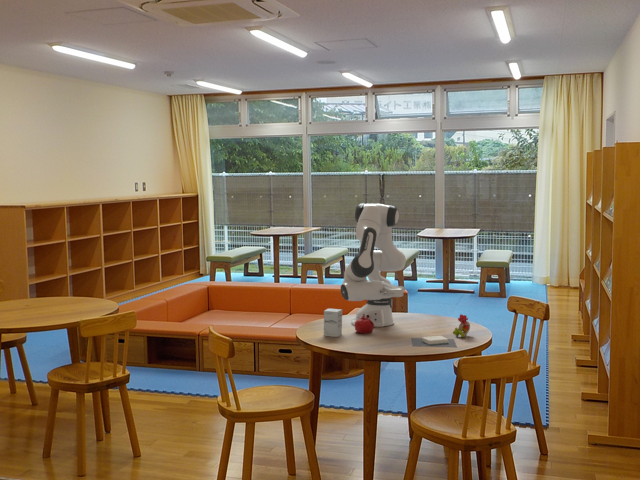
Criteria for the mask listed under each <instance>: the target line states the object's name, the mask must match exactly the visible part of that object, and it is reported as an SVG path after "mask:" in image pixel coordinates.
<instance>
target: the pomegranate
mask: <svg viewBox="0 0 640 480" xmlns="http://www.w3.org/2000/svg"><path fill="white" fill-rule="evenodd" d="M358 318H359V317H358ZM367 318H368V317H366V318H365V314H363V316H362V318H361V319H359V320H357V321H356V322H355V325H354V330H355V331H356V333H359V334H364V335H365V334H367V335H368V334H370V333H372V332H373V331H374V327H375V326H374V323H373V322H372V321H371V320H370V319H367ZM369 318H370V317H369Z"/></svg>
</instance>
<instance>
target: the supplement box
mask: <svg viewBox="0 0 640 480" xmlns="http://www.w3.org/2000/svg"><path fill="white" fill-rule="evenodd" d="M342 328H343V309H340V308H339V309H338V308H326V309H325V310H323V337H333V338H338V337H340V336H342V334H343V333H342V331H343V329H342Z"/></svg>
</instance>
